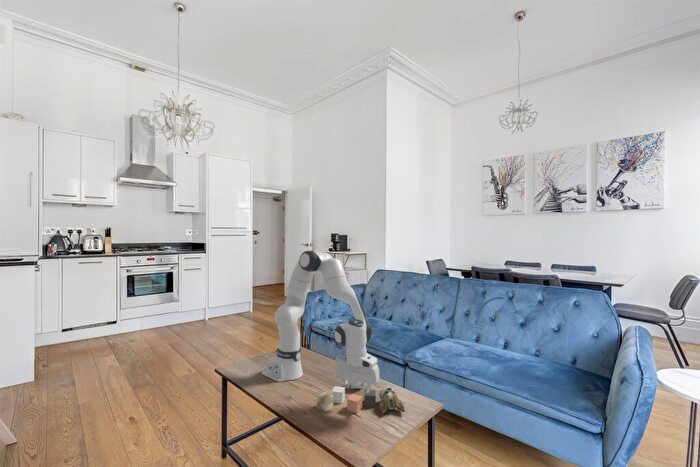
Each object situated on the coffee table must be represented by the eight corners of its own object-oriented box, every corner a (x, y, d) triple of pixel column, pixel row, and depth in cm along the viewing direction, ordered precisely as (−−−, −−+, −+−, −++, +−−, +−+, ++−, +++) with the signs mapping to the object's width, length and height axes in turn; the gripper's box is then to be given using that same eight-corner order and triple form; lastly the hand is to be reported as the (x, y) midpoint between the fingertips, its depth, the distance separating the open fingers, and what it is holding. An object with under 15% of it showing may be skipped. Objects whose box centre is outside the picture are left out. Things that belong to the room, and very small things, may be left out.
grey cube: (331, 402, 143) (331, 391, 143) (334, 396, 148) (334, 386, 148) (342, 403, 142) (342, 392, 142) (344, 398, 147) (344, 387, 147)
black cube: (364, 406, 140) (364, 395, 140) (364, 400, 145) (364, 389, 145) (375, 407, 139) (375, 395, 140) (375, 401, 144) (375, 390, 144)
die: (359, 395, 151) (370, 375, 154) (343, 384, 153) (354, 365, 156) (358, 393, 159) (369, 374, 162) (343, 382, 161) (354, 364, 164)
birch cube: (317, 407, 138) (317, 396, 138) (324, 403, 142) (324, 392, 142) (325, 411, 135) (325, 400, 135) (333, 407, 139) (333, 395, 139)
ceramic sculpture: (397, 379, 147) (406, 397, 132) (397, 397, 148) (406, 417, 133) (374, 380, 146) (381, 399, 131) (374, 398, 146) (381, 419, 132)
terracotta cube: (347, 410, 137) (347, 398, 137) (352, 405, 141) (352, 393, 141) (357, 413, 134) (357, 401, 134) (362, 407, 139) (362, 396, 139)
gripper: (332, 356, 140) (332, 388, 140) (375, 364, 131) (375, 398, 131) (339, 352, 146) (339, 382, 146) (380, 359, 136) (381, 391, 136)
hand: (356, 390), depth 138 cm, fingers open, 8 cm apart
